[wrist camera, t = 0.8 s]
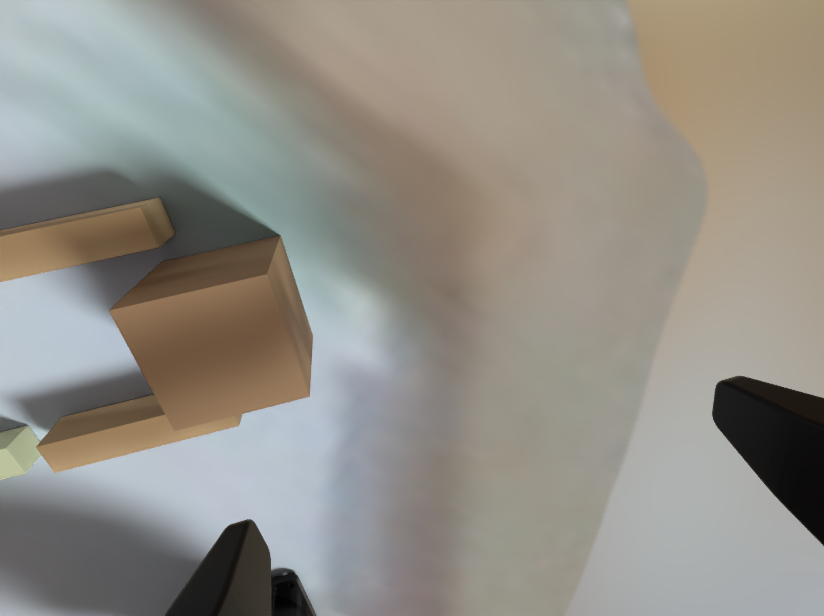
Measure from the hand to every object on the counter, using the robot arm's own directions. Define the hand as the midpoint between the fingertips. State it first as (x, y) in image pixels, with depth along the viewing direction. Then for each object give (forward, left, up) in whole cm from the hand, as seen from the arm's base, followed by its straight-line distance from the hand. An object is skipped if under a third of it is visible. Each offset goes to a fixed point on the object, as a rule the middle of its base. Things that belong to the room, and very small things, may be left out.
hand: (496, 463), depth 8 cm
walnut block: (0, +7, -13) cm, 15 cm away
